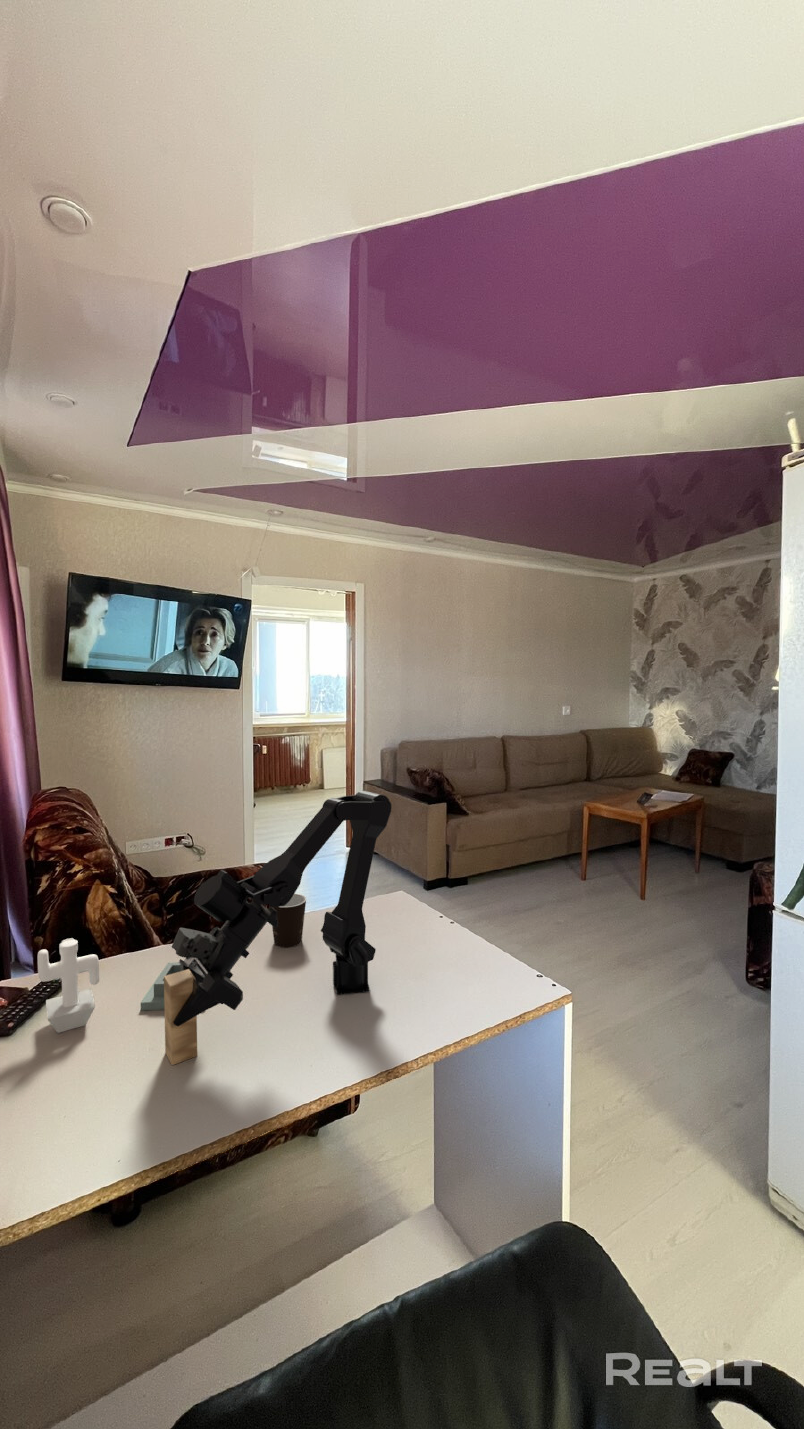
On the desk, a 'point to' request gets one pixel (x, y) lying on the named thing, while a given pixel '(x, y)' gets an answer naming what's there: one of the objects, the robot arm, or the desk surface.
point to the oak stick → (176, 1037)
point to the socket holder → (159, 989)
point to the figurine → (69, 986)
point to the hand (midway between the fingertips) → (171, 1018)
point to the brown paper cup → (290, 922)
